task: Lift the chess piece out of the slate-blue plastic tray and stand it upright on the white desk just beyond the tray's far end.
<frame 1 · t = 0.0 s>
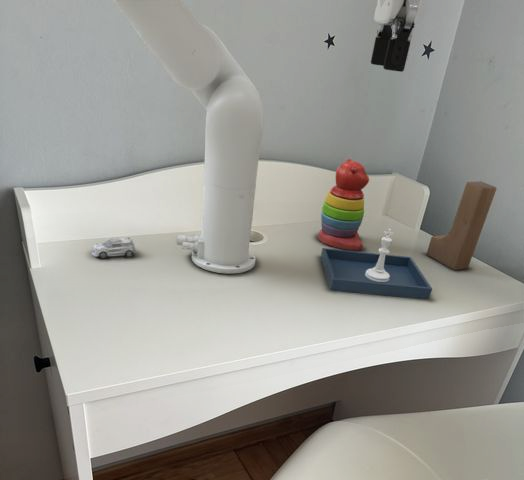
hand: (386, 67, 85), 37 cm above the table, tool pointing down, fingers open, 9 cm apart
tray: (371, 277, 104), on the table
wooden block: (446, 262, 117), on the table
toy car: (113, 255, 99), on the table
stacking bear: (338, 241, 120), on the table
chess piece: (376, 277, 104), resting on tray
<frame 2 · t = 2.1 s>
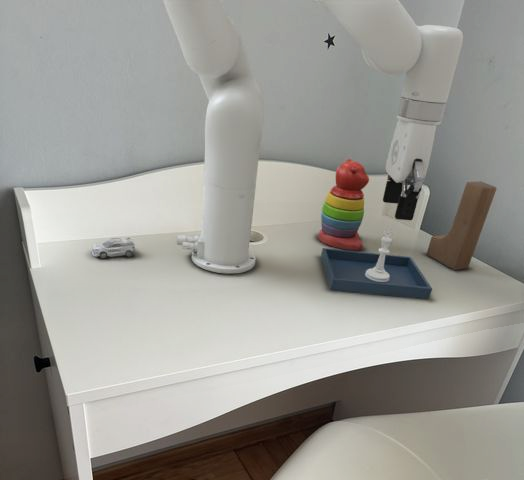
hand: (396, 210, 97), 14 cm above the table, tool pointing down, fingers open, 9 cm apart
nothing on the table moved.
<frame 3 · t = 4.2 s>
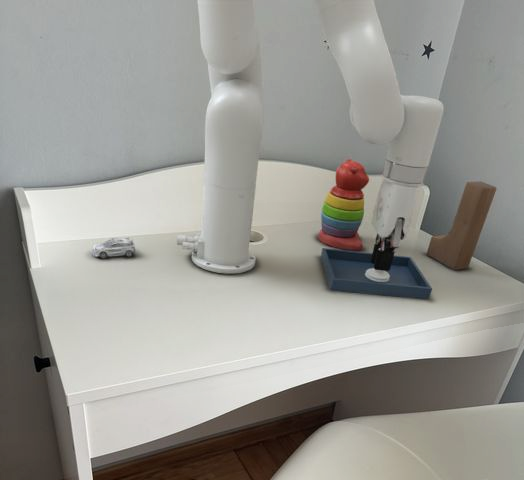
hand: (379, 266, 103), 3 cm above the table, tool pointing down, fingers closed on chess piece
chess piece: (376, 277, 104), resting on tray, touching gripper
everything else where it was.
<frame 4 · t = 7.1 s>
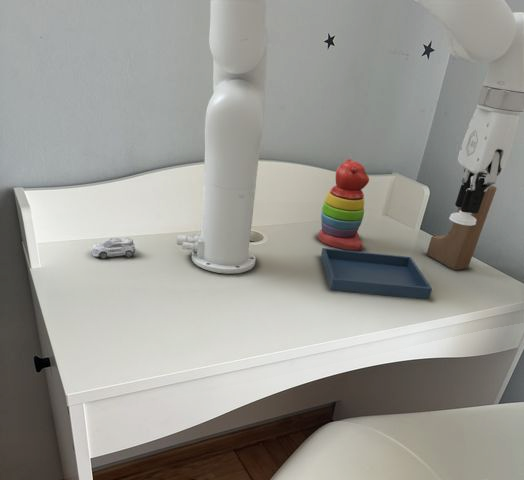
hand: (466, 208, 96), 16 cm above the table, tool pointing down, fingers closed on chess piece
chess piece: (462, 222, 97), point 13 cm above the table, touching gripper
everything else where it was.
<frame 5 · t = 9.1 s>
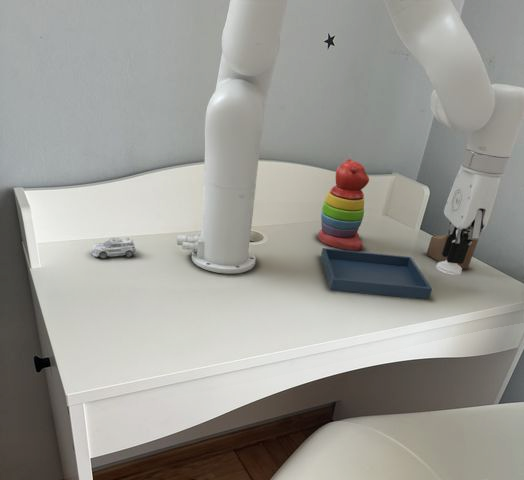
hand: (452, 258, 101), 6 cm above the table, tool pointing down, fingers closed on chess piece
chess piece: (448, 270, 103), point 4 cm above the table, touching gripper
everything else where it was.
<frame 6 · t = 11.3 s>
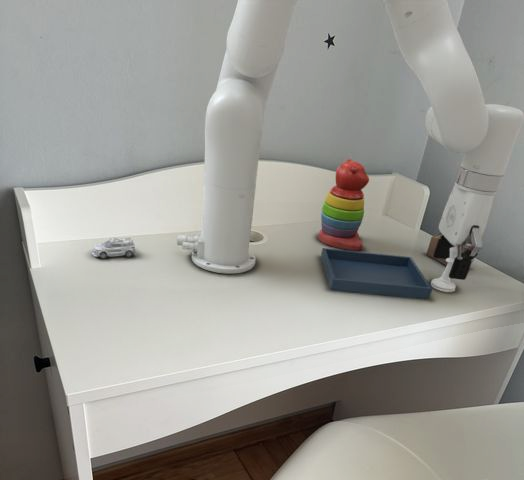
hand: (448, 267, 102), 4 cm above the table, tool pointing down, fingers open, 9 cm apart
chess piece: (442, 287, 105), on the table
everything else where it was.
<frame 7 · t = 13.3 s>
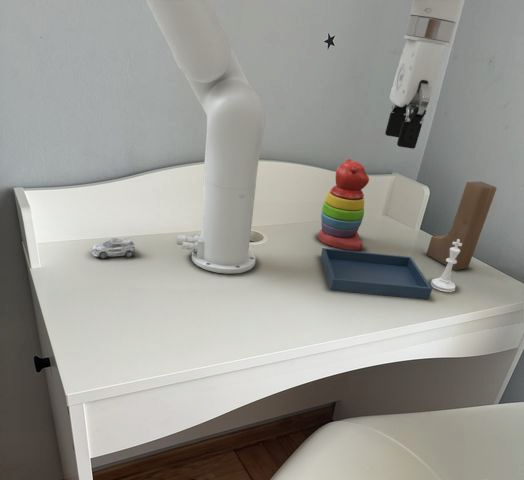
hand: (399, 141, 94), 25 cm above the table, tool pointing down, fingers open, 9 cm apart
nothing on the table moved.
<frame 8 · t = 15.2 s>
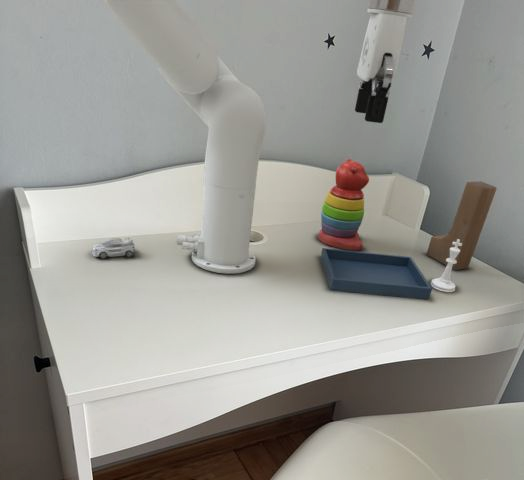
hand: (367, 117, 94), 28 cm above the table, tool pointing down, fingers open, 9 cm apart
nothing on the table moved.
at the end: chess piece inside the target area (0.2 cm from its centre), on the table; chess piece tilted 0°; the gripper is holding nothing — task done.
